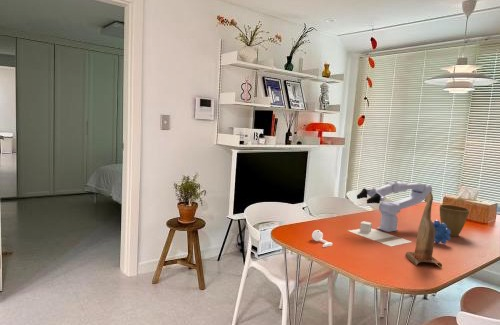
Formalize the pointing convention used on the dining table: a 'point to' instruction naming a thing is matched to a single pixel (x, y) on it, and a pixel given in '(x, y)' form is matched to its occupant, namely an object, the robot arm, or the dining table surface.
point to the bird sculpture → (424, 237)
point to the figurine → (320, 238)
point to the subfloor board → (381, 237)
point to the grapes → (441, 232)
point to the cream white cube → (365, 227)
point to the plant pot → (453, 218)
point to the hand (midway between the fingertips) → (362, 199)
